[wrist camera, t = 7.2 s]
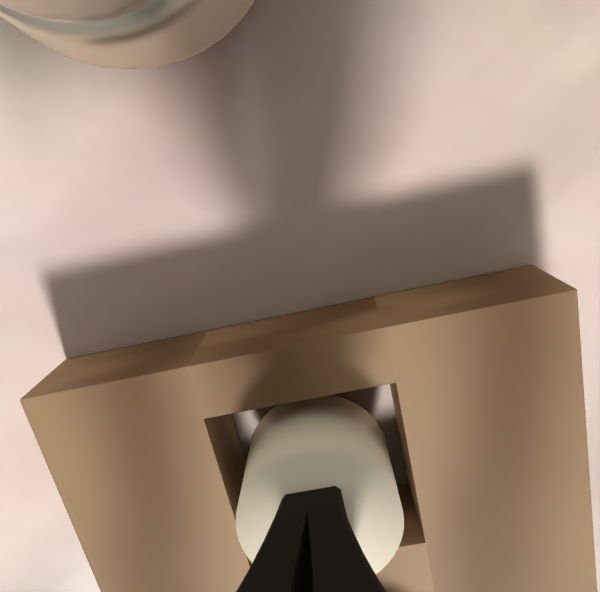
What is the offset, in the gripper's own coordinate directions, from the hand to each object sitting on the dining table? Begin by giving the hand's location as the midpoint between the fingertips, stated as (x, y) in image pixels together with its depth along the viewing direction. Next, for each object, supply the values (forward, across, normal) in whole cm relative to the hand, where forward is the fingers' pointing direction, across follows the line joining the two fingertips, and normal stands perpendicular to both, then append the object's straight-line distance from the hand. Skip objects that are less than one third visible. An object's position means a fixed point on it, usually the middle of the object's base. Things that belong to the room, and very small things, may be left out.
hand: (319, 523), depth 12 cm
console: (+4, 0, +7) cm, 8 cm away
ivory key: (+3, 0, 0) cm, 3 cm away
